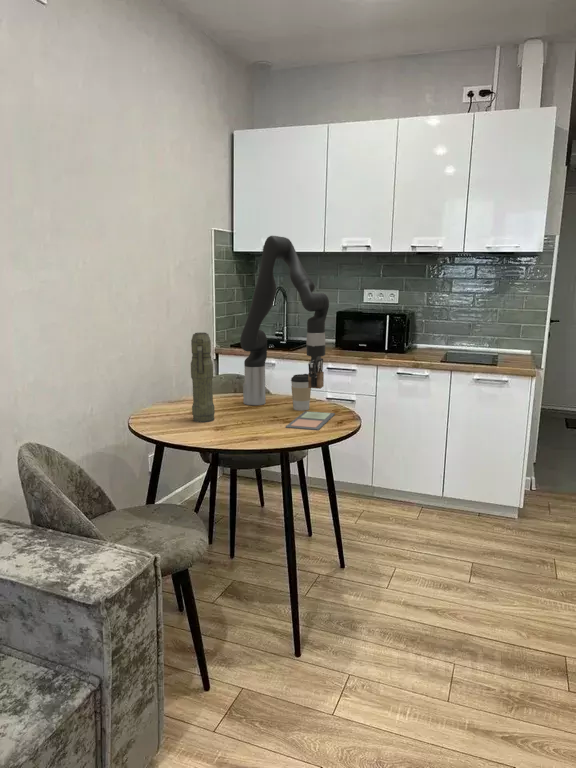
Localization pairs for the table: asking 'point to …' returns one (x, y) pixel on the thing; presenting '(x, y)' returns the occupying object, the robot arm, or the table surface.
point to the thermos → (202, 378)
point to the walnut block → (319, 380)
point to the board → (311, 420)
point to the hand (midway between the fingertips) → (315, 385)
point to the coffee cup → (300, 392)
